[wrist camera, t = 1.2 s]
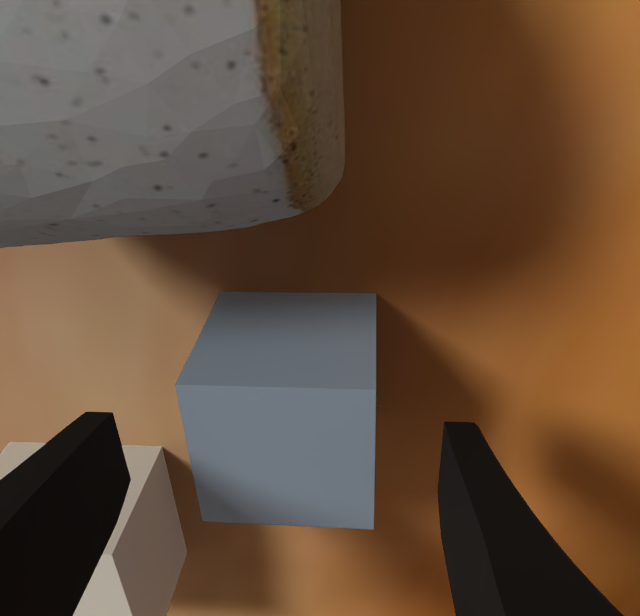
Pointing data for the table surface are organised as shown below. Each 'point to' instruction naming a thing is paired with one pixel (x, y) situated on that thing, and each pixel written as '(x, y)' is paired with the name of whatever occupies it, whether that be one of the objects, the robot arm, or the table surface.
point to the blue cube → (284, 409)
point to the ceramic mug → (166, 115)
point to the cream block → (131, 539)
